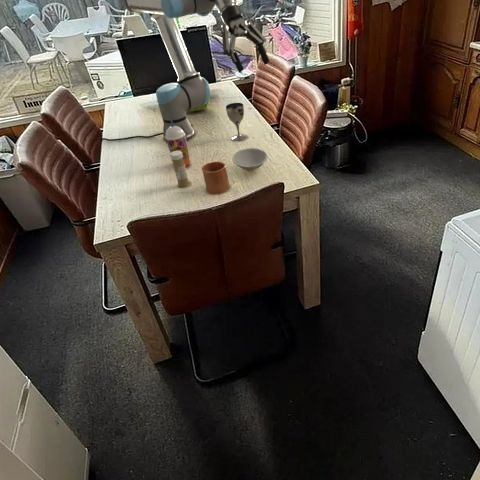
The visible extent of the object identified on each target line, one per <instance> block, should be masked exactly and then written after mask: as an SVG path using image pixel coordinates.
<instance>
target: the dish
mask: <svg viewBox="0 0 480 480" xmlns="http://www.w3.org/2000/svg"><path fill="white" fill-rule="evenodd" d="M231 160H232V163H233V164H234V165H236V166H237V167H239V168H240V169H242V170H245V171H254V170H257V169H259V168H260V167H262V166H263V165H264V164H265V162H267V160H268V154H267V152H266V151H265V150H263V149H260V148H255V147H250V148H243V149H240V150H238V151H236V152H235V153H234V154H233V156H232V157H231Z"/></svg>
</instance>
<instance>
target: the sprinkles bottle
mask: <svg viewBox="0 0 480 480" xmlns="http://www.w3.org/2000/svg"><path fill="white" fill-rule="evenodd" d="M169 156H170V160H171V162H172V166H173V170H174V174H175V176H176V180H177V185H178V187H180V188H186V187H188V186H189V185H190V181H189V177H188V172H187V168H185V164H184V161H183V155H182V152H181V151H173V152H171V153H170V152H169Z"/></svg>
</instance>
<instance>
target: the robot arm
mask: <svg viewBox="0 0 480 480" xmlns="http://www.w3.org/2000/svg"><path fill="white" fill-rule="evenodd" d="M121 3H122V4H123V7H124V8H125V9H126V10H127V12H129V13H131V14H133V15H143V14H148V15H149V18H150V19H151V20H152V21H154V22H155V23H156V26H157V28H158V31H159V33H160V36H161V38H162V41H163V43H164V45H165V48H166V50H167V53H168V55H169V58H170V60H171V62H172V65H173V68H174V70H175V72H176V75H177V77H178V78H177V81H176V82H170V83H166V84H163V85H161V86H160V87H158V88H157V90H156V92H155V95H156V102H157V104H158V107H159V111H160V116H161V118H162V122H163V127H162V128H163V131H162V132H159V133H155V134H152V135H133V136H127V137H121V138H119V137H118V138H106V137H101V138H100V140H99V142H103V141H106V142H117V141H118V142H119V141H125V140H131V139H140V138H141V139H151V138H155V137H158V136H163V140H164V141H166V139H165V135H166V131H167V129H168V128H169V127H171V126H172V125H171V121H170V119H172V122H173V126H178V127H180V128H181V129H182V130H183V132H185V136H186V141H188V140H190V139H192V138H193V137H194V136H195V130H194V125H193V123H192V124H191V122H190V121H189V118H188V116H187V112H188V111H190V110H191V109H194V108H197V107H199V106H203V105H204V104H207V103H208V102H209V103H210V101H211V98H210V97H211V95H212V93H211V92H212V91H211V86H210V84H209V81H208V80H207V79H206V78H204V77H202V76H201V74H200V72H198V71H196V69H195V67H194V64H193V62H192V59H191V57H190V54H189V52H188V50H187V49H188V48H187V47H186V44H185V40H184V39H183V36H182V33H181V31H180V29H179V26H178V23H177V20H176V19H179V18H182V17H187V16H190V15H198V16H200V17H208V16H209V15H210V14H211V12H212V11H213V10H214V8H215V7H216V9H217V11H218V13H219V15H220V18H221V20H222V22H223V24H222V25H221V26H220V33H221V39H222V53H223V55H224V56H227V57H229V58H230V59H231V61H232V64H234V65H235V67H236V70H237V72H238V74H241V73H242V72H243V71H244V70H245V68H244V66H243V64H242V63H243V62H242V61H241V60H240V57H239V55H238V53H237V51H235V46H236V40H237V38H238V37H244V38H246V39H248V40H249V41H251V42H252V43H253V44H254V45H256V46H257V51H258V53H259V55H260V56H259V57H260V58H261V60H262V62H263V65H265V66H266V65H268V63H270V59H269V55H268V54H267V49H266V47H265V43H266V42H267V38H266V37H265V36H264V35H263V34H262V32H261V31H260V30H259V29H258V28H257V27H256V26H255V25H254V24H253V22H252V19H251V18H247V20H244V18H243V13H242V10H241V8H240V6H239V4H238V2H237V0H121ZM209 100H210V101H209Z"/></svg>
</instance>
